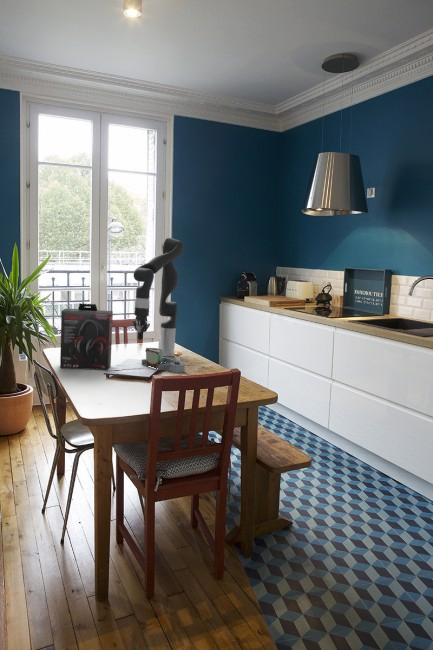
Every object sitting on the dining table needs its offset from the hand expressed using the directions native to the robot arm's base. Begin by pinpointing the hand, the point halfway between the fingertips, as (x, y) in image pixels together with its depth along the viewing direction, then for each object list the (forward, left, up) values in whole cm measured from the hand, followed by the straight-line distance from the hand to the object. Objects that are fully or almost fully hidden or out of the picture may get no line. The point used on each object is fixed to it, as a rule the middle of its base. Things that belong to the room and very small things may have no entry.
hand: (140, 339), depth 265 cm
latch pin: (+13, +15, -12) cm, 23 cm away
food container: (+1, +11, -16) cm, 19 cm away
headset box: (-15, -23, -16) cm, 32 cm away
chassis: (+4, +16, -16) cm, 23 cm away
